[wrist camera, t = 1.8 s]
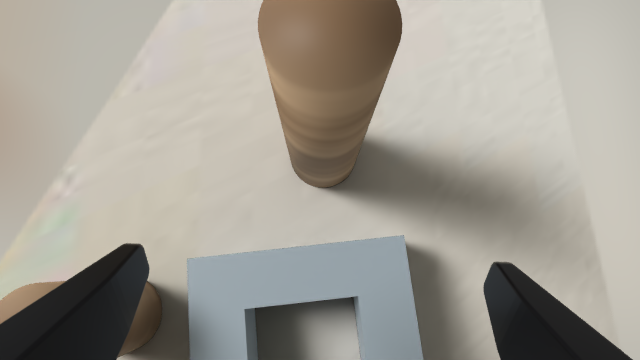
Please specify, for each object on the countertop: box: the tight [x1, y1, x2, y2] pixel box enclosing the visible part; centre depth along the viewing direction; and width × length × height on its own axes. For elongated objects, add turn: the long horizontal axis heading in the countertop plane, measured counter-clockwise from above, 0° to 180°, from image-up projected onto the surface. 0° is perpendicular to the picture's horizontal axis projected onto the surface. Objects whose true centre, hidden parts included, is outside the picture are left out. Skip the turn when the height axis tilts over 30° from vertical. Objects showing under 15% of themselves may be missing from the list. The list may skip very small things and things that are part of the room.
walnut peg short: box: [0, 281, 162, 358], centre depth 17 cm, size 4×4×7 cm
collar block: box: [187, 235, 423, 360], centre depth 19 cm, size 11×11×3 cm
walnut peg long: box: [258, 0, 402, 188], centre depth 17 cm, size 4×4×13 cm
